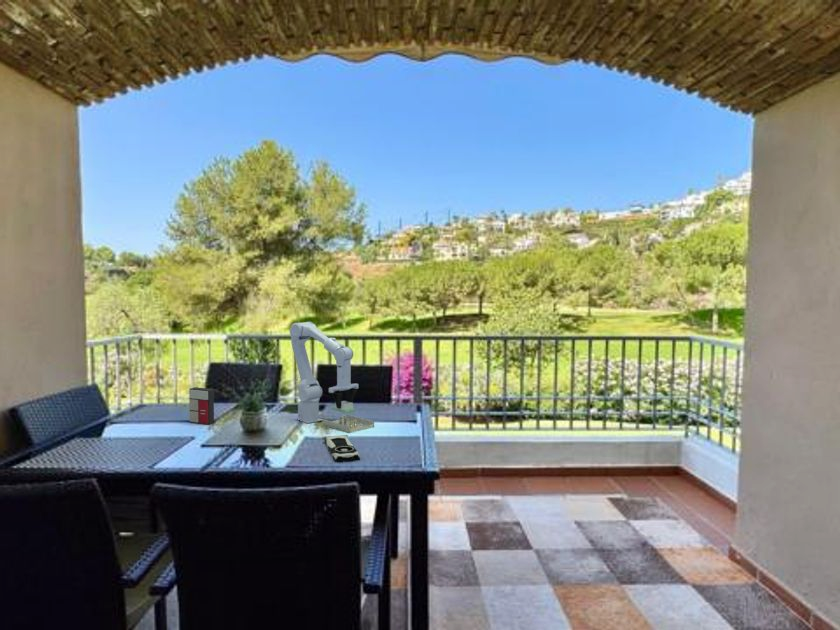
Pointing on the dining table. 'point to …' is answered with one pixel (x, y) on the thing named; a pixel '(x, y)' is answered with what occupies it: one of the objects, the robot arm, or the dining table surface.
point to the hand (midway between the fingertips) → (344, 407)
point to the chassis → (349, 423)
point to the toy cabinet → (201, 405)
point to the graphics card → (341, 448)
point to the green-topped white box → (345, 407)
